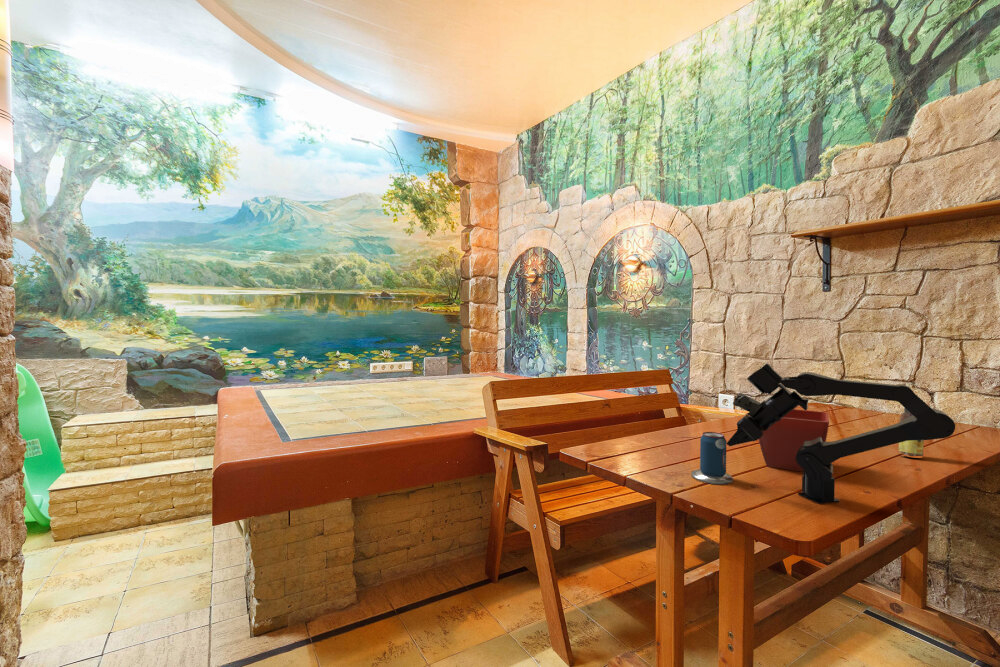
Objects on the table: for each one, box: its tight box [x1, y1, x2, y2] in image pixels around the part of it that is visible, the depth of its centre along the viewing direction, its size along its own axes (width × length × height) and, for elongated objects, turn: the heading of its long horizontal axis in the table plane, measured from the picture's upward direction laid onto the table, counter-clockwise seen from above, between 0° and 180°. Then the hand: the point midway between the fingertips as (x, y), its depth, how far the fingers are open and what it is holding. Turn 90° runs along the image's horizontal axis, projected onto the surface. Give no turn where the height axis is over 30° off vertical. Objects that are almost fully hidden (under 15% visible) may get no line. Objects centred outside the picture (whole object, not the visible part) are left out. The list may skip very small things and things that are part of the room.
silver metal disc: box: [690, 468, 734, 486], centre depth 131 cm, size 11×11×1 cm
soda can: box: [699, 431, 727, 478], centre depth 131 cm, size 7×7×12 cm
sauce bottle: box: [898, 407, 925, 456], centre depth 152 cm, size 7×6×20 cm
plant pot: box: [758, 408, 830, 473], centre depth 143 cm, size 19×19×17 cm
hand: (731, 441), depth 128 cm, fingers open, 9 cm apart
